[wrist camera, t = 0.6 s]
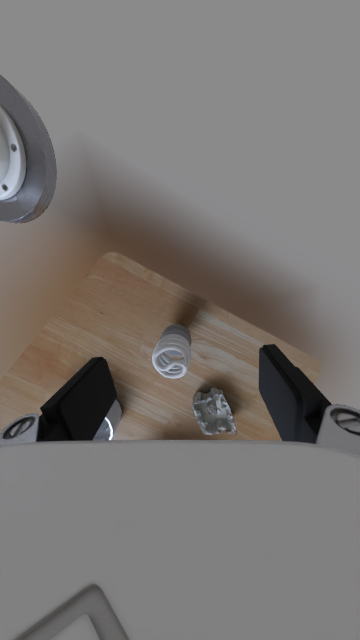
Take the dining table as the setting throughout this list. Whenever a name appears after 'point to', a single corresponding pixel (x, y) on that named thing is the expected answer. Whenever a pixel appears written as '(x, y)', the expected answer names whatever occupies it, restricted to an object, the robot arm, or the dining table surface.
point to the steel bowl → (109, 423)
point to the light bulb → (173, 351)
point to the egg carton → (213, 412)
